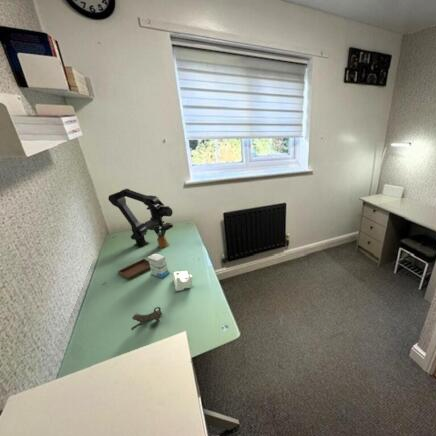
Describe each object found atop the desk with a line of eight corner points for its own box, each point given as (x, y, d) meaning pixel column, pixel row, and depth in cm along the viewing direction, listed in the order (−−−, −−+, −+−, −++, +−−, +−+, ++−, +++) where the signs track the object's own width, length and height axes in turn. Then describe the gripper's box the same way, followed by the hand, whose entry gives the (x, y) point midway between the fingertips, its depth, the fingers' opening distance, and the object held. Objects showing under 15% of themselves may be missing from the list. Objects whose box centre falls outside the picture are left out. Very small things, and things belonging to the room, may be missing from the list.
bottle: (157, 246, 165) (154, 234, 161) (164, 243, 169) (162, 231, 166) (162, 248, 162) (159, 237, 159) (169, 245, 167) (167, 233, 163)
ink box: (169, 273, 138) (165, 256, 133) (161, 278, 133) (157, 260, 129) (159, 269, 141) (154, 252, 136) (151, 274, 137) (146, 257, 132)
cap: (158, 235, 164) (158, 232, 163) (165, 234, 165) (164, 231, 164) (157, 237, 161) (156, 234, 160) (163, 237, 161) (162, 234, 160)
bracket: (190, 289, 127) (192, 277, 125) (176, 290, 123) (177, 278, 121) (186, 276, 137) (187, 264, 135) (172, 277, 133) (174, 265, 131)
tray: (118, 273, 137) (117, 270, 136) (144, 261, 149) (144, 258, 148) (129, 280, 131) (128, 277, 131) (155, 266, 143) (154, 263, 143)
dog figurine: (163, 314, 109) (160, 302, 106) (163, 323, 105) (159, 311, 102) (133, 322, 105) (129, 310, 102) (131, 332, 100) (127, 319, 97)
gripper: (134, 218, 152) (140, 239, 158) (158, 222, 147) (163, 243, 153) (148, 212, 161) (153, 232, 168) (171, 215, 157) (175, 236, 163)
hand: (161, 236), depth 163 cm, fingers closed on cap, 4 cm apart
